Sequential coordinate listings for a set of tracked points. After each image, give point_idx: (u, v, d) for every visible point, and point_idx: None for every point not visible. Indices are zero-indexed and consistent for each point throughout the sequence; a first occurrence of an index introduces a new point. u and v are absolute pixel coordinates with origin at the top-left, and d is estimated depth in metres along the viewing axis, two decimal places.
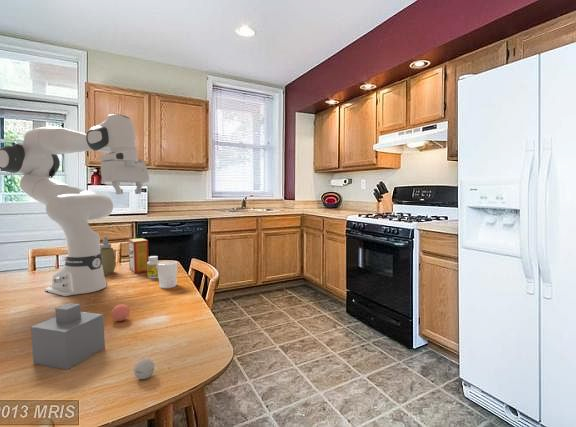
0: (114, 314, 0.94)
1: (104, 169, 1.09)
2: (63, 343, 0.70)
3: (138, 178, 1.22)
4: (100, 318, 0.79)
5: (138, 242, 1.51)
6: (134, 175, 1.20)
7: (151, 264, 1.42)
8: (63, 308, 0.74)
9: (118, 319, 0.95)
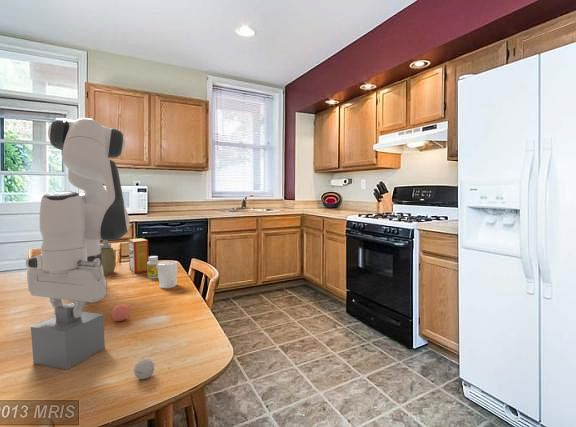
0: (114, 314, 0.94)
1: None
2: (63, 343, 0.70)
3: (72, 296, 0.72)
4: (100, 318, 0.78)
5: (138, 242, 1.51)
6: (64, 290, 0.73)
7: (151, 264, 1.42)
8: (63, 308, 0.74)
9: (118, 319, 0.95)
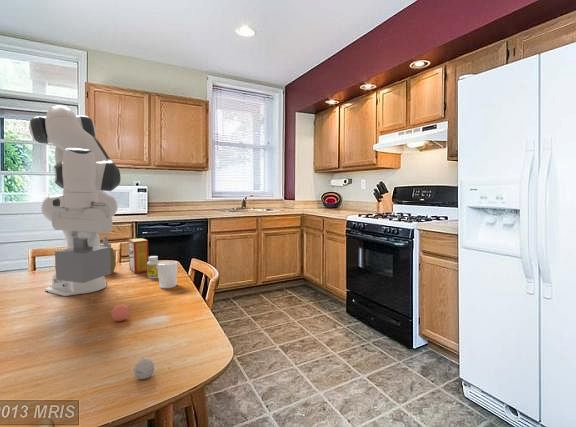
0: (114, 314, 0.94)
1: None
2: (80, 262, 0.92)
3: (86, 228, 0.94)
4: (107, 249, 1.00)
5: (138, 242, 1.51)
6: (81, 224, 0.94)
7: (151, 264, 1.42)
8: (79, 238, 0.96)
9: (118, 319, 0.95)
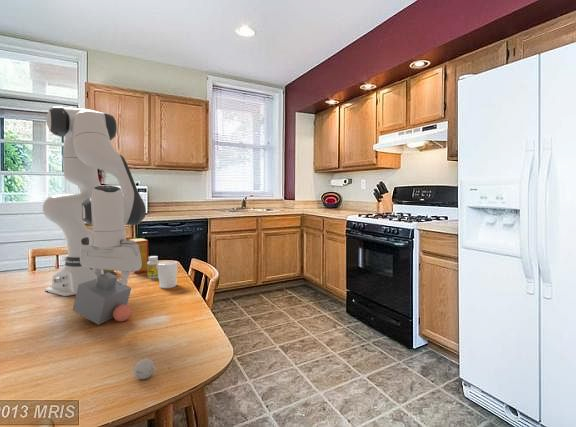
0: (116, 314, 0.94)
1: None
2: (101, 305, 0.91)
3: (115, 267, 0.93)
4: (128, 290, 1.00)
5: (138, 242, 1.51)
6: (110, 263, 0.94)
7: (151, 264, 1.42)
8: (105, 277, 0.95)
9: (119, 320, 0.95)
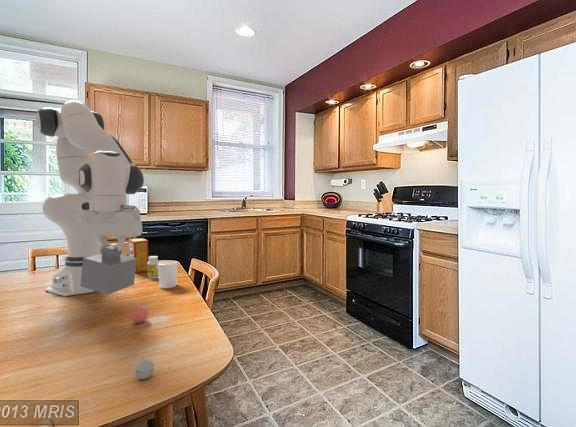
0: (134, 319, 0.93)
1: None
2: (108, 274, 0.90)
3: (116, 232, 0.92)
4: (134, 261, 0.99)
5: (138, 242, 1.51)
6: (110, 228, 0.93)
7: (151, 264, 1.42)
8: (109, 248, 0.94)
9: (131, 313, 0.94)
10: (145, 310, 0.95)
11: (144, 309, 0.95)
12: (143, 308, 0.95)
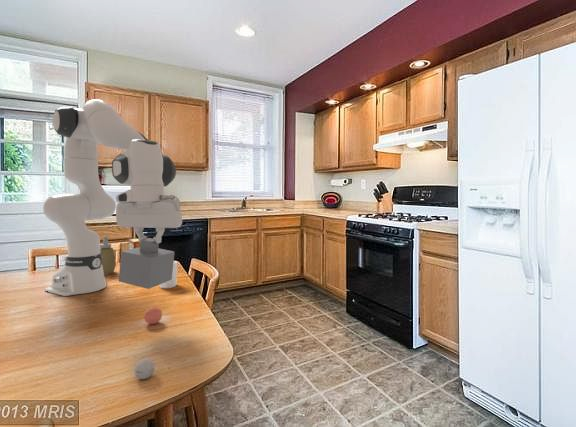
0: (146, 318, 0.92)
1: None
2: (148, 267, 0.86)
3: (155, 224, 0.88)
4: (172, 254, 0.95)
5: (138, 242, 1.51)
6: (149, 219, 0.89)
7: None
8: (147, 240, 0.90)
9: (152, 315, 0.92)
10: None
11: None
12: None
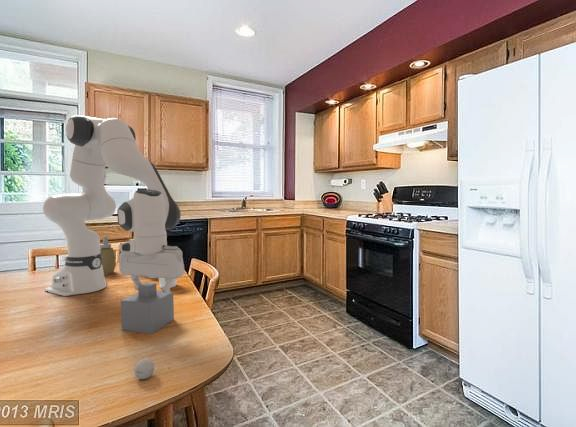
0: None
1: None
2: (148, 312, 0.87)
3: (158, 274, 0.90)
4: (171, 295, 0.96)
5: None
6: (152, 269, 0.90)
7: None
8: (144, 285, 0.91)
9: None
10: None
11: None
12: None
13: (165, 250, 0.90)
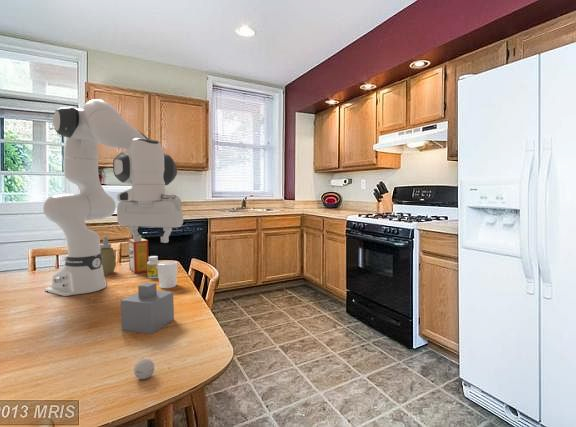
0: None
1: None
2: (148, 312, 0.87)
3: (156, 223, 0.88)
4: (171, 295, 0.96)
5: (138, 242, 1.51)
6: (150, 218, 0.89)
7: (151, 264, 1.42)
8: (144, 285, 0.91)
9: None
10: None
11: None
12: None
13: (163, 199, 0.89)
